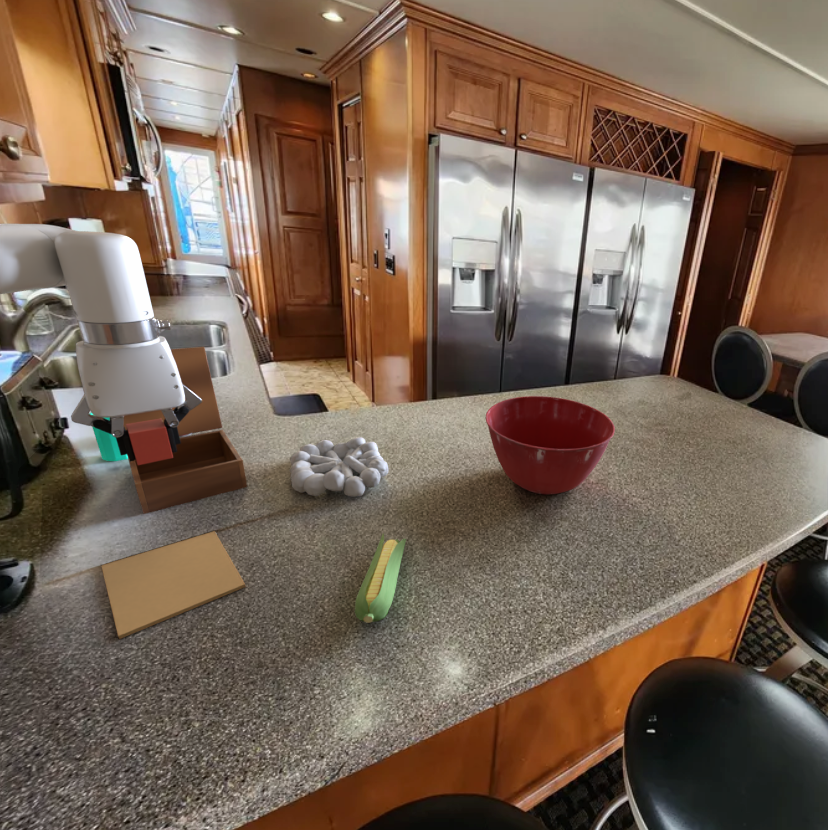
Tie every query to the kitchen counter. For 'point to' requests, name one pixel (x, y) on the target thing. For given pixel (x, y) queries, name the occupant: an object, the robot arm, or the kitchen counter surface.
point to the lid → (198, 381)
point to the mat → (168, 581)
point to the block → (149, 441)
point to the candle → (108, 445)
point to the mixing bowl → (548, 441)
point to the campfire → (337, 467)
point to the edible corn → (380, 582)
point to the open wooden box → (190, 472)
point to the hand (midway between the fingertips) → (152, 452)
